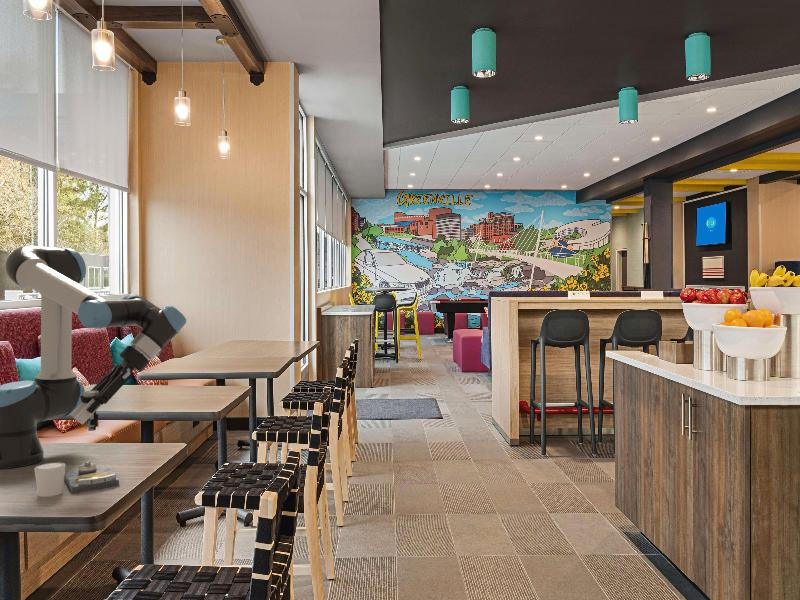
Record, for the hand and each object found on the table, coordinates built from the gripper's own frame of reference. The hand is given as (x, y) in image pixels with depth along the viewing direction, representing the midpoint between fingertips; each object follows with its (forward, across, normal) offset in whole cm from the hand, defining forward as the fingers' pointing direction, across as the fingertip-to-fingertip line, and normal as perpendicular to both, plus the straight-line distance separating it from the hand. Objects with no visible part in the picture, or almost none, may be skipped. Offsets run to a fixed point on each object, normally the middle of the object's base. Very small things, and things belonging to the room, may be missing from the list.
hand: (76, 419), depth 168 cm
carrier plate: (+10, 0, -14) cm, 17 cm away
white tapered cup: (+17, -4, -7) cm, 19 cm away
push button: (0, 0, -5) cm, 5 cm away
